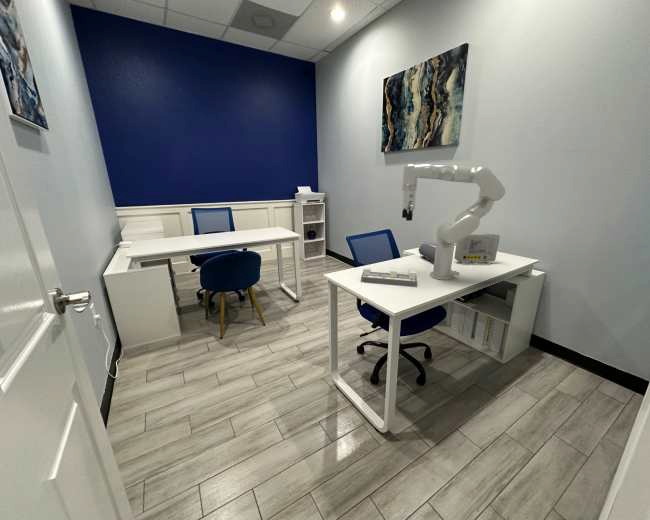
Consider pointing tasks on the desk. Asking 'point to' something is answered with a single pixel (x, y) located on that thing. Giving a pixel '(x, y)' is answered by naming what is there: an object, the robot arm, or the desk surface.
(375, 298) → the desk surface
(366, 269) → the slider
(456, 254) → the network device
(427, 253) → the bluetooth speaker
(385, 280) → the switch console
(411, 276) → the slider
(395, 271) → the slider middle
